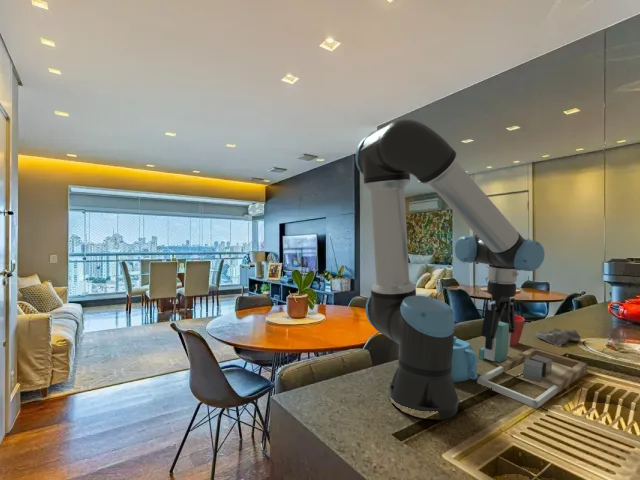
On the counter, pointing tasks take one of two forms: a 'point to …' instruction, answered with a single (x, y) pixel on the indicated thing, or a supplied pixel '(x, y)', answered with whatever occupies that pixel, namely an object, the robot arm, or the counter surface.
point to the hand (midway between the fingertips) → (496, 355)
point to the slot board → (561, 368)
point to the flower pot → (517, 330)
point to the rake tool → (499, 343)
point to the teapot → (463, 361)
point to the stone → (558, 336)
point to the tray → (513, 394)
